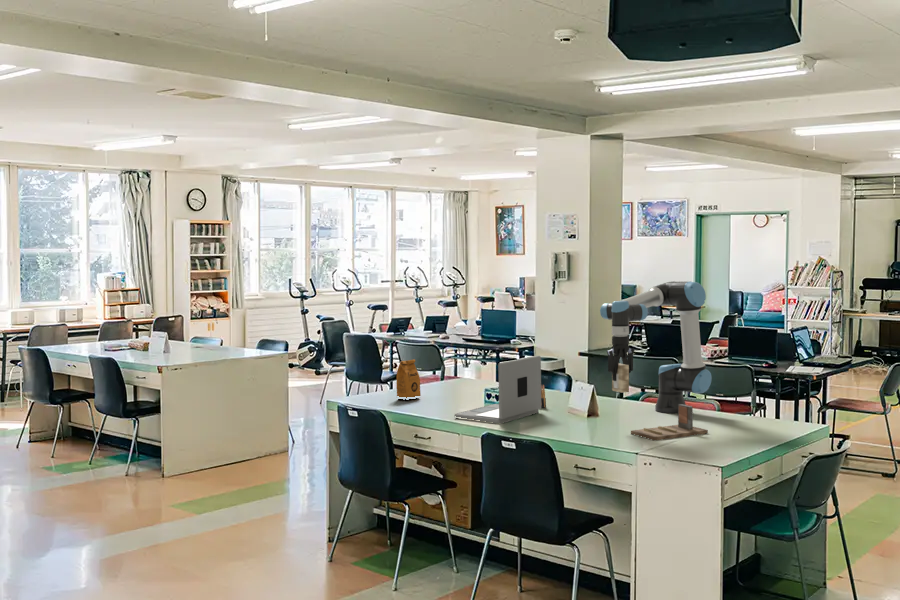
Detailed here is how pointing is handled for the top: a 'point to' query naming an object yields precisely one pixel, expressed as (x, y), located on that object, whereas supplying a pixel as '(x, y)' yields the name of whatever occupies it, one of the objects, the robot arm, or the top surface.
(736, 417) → the top surface
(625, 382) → the maple finger
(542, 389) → the ammunition clip
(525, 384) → the laptop
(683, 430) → the rail
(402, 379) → the coffee package
